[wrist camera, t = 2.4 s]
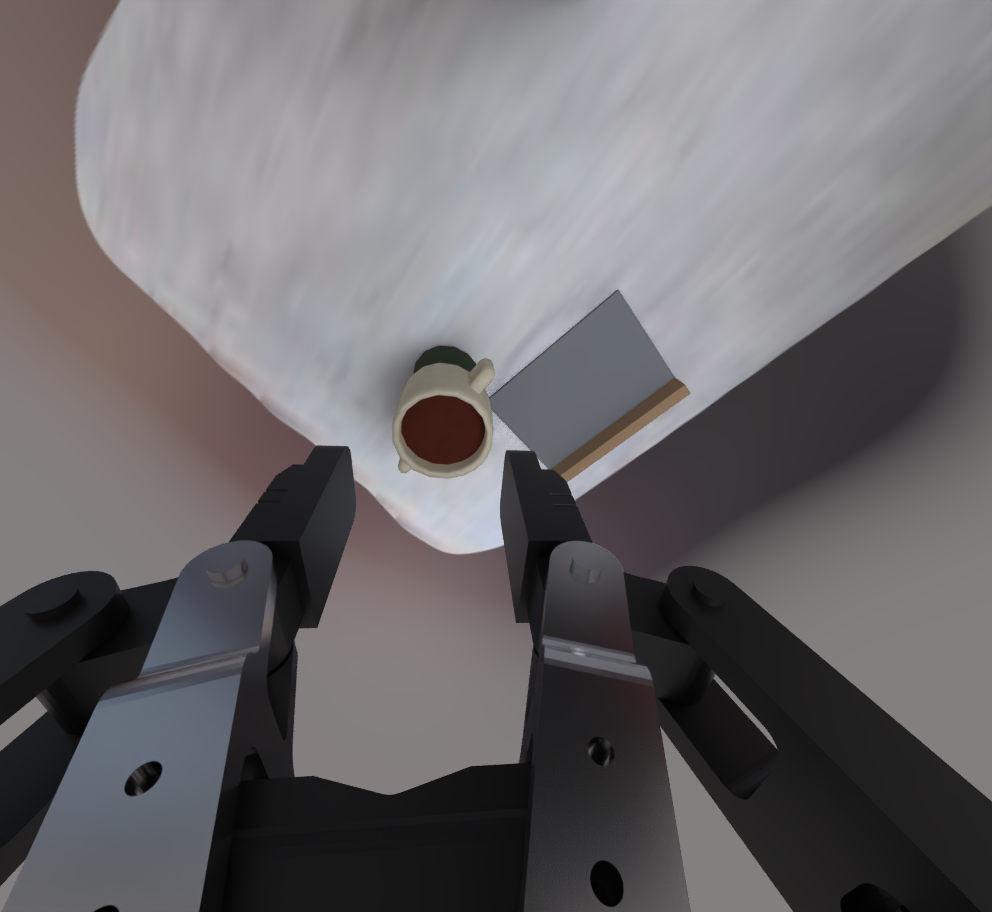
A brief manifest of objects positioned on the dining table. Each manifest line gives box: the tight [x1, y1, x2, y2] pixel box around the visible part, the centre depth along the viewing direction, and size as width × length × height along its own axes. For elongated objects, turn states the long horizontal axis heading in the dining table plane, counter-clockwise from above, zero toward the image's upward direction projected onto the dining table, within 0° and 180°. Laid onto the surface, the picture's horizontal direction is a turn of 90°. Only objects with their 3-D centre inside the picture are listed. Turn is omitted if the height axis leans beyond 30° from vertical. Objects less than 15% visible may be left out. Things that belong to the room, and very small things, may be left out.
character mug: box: [393, 346, 495, 478], centre depth 34 cm, size 11×7×13 cm, turn 138°
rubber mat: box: [489, 290, 690, 482], centre depth 40 cm, size 12×16×2 cm
